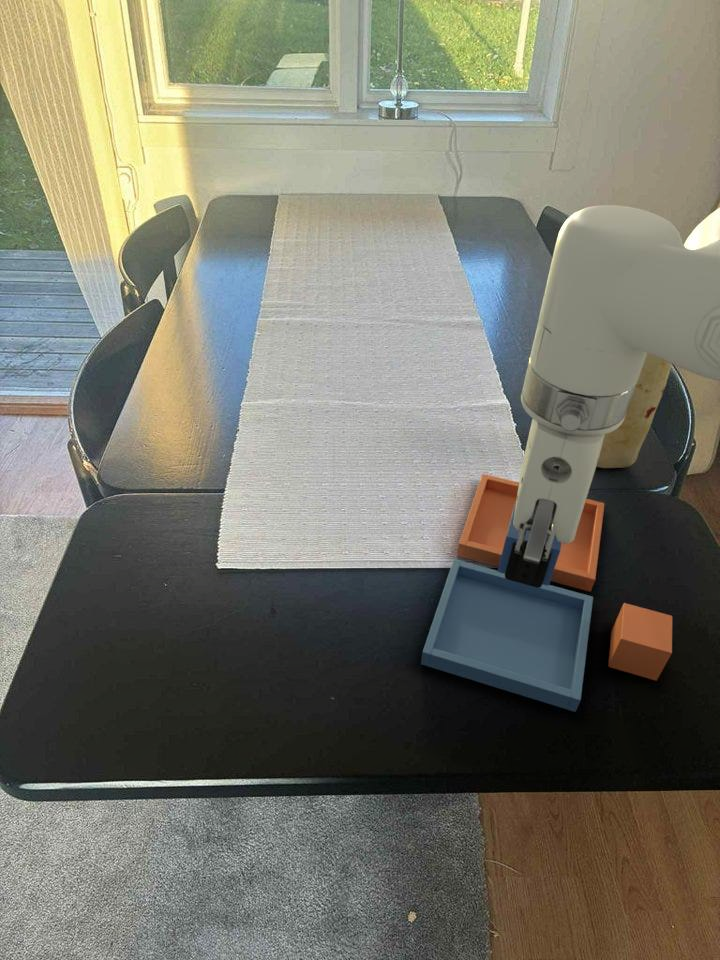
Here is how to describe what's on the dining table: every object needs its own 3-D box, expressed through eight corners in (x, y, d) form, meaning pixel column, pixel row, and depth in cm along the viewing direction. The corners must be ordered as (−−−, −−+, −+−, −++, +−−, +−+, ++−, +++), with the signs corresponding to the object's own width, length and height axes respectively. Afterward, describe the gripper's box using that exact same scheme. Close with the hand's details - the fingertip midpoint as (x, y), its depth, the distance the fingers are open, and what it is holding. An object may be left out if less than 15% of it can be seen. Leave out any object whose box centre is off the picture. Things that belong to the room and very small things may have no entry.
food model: (643, 460, 91) (697, 322, 78) (619, 484, 88) (671, 343, 75) (577, 428, 96) (617, 293, 83) (552, 449, 93) (589, 312, 79)
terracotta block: (657, 644, 69) (672, 615, 67) (656, 681, 66) (672, 653, 63) (611, 630, 70) (623, 602, 68) (608, 666, 67) (621, 638, 64)
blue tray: (588, 609, 73) (593, 596, 71) (575, 712, 63) (580, 700, 62) (451, 571, 76) (453, 558, 75) (420, 664, 67) (422, 651, 66)
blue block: (555, 550, 64) (566, 515, 61) (548, 586, 60) (560, 550, 57) (506, 537, 65) (515, 502, 62) (497, 572, 61) (506, 536, 58)
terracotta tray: (600, 515, 83) (604, 502, 82) (590, 592, 74) (595, 579, 73) (480, 485, 87) (482, 473, 85) (456, 555, 78) (458, 543, 76)
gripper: (623, 472, 44) (557, 646, 56) (635, 344, 56) (579, 509, 68) (504, 444, 45) (465, 619, 57) (541, 325, 57) (503, 490, 69)
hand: (528, 558), depth 62 cm, fingers closed on blue block, 4 cm apart
